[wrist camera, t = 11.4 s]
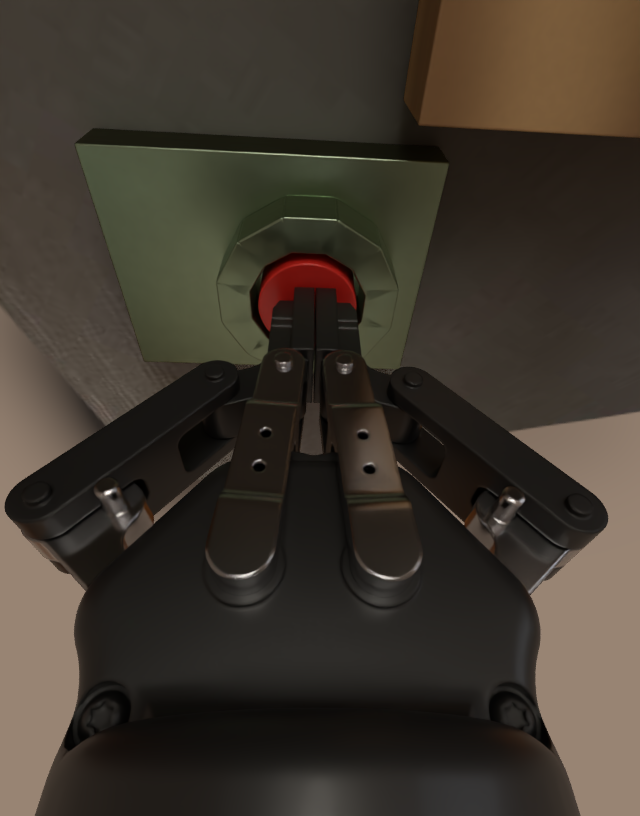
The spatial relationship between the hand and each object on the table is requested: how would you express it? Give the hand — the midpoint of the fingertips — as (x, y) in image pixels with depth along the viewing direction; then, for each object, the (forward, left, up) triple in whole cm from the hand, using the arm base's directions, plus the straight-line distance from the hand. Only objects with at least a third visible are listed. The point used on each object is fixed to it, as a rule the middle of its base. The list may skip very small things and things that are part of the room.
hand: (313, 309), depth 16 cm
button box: (-2, 0, -4) cm, 4 cm away
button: (0, 0, -2) cm, 2 cm away
